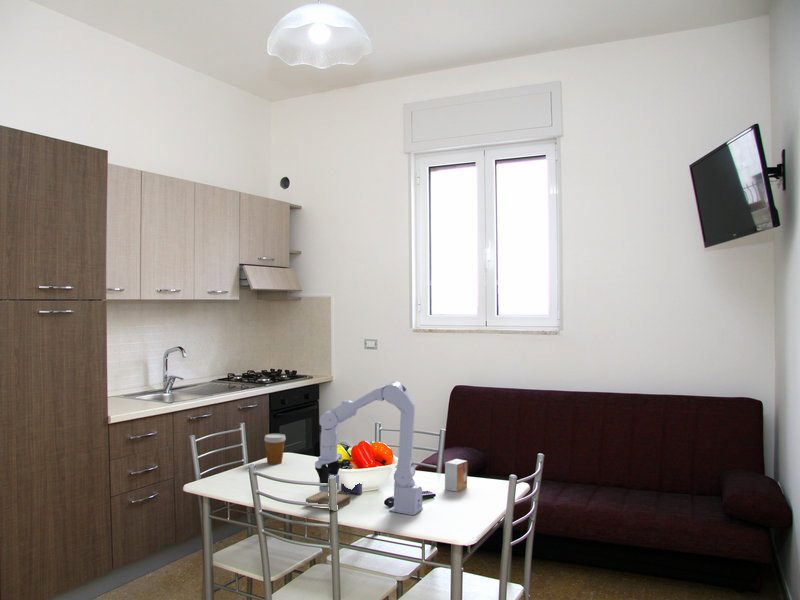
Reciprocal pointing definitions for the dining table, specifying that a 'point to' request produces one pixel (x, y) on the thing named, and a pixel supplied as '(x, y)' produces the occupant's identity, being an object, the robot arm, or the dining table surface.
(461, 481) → the small box
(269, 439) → the disposable coffee cup
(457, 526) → the dining table surface
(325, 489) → the slate cube
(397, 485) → the robot arm
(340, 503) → the walnut base
